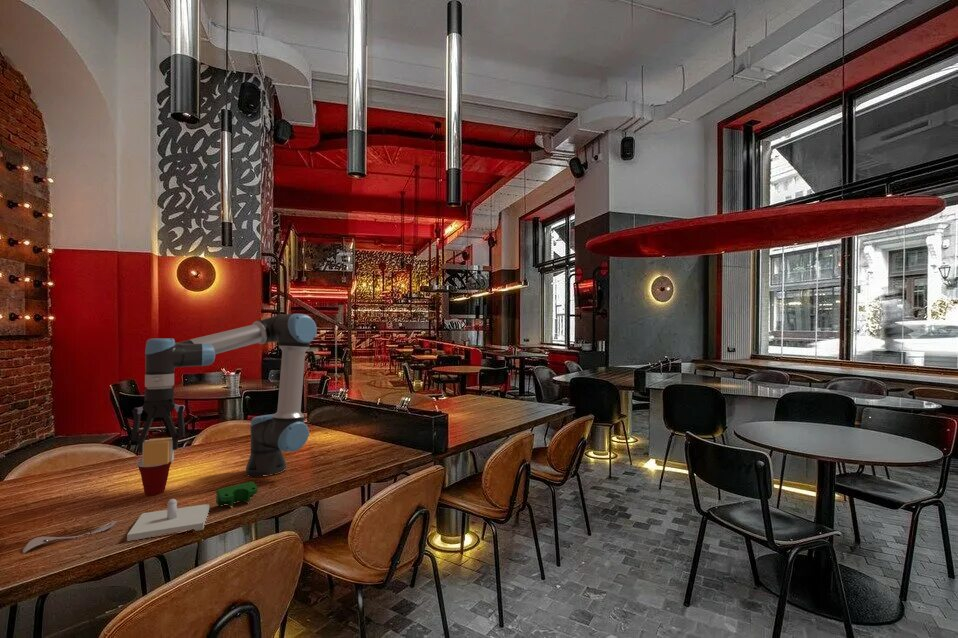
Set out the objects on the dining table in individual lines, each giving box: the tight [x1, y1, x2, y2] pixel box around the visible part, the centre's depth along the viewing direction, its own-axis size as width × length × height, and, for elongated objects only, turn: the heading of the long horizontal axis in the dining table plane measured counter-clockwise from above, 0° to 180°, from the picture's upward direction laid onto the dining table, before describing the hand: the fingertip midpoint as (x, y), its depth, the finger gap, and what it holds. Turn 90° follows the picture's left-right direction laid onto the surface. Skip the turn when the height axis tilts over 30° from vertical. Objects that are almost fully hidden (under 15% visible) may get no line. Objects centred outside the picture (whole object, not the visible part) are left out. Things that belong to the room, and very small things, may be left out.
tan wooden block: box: [143, 436, 172, 466], centre depth 142 cm, size 6×6×7 cm
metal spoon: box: [22, 520, 118, 554], centre depth 127 cm, size 20×4×5 cm
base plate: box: [126, 498, 211, 542], centre depth 136 cm, size 18×16×8 cm
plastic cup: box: [136, 459, 173, 497], centre depth 162 cm, size 11×11×12 cm
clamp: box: [215, 480, 259, 507], centre depth 151 cm, size 12×6×9 cm, turn 131°
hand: (158, 461), depth 141 cm, fingers closed on tan wooden block, 6 cm apart
